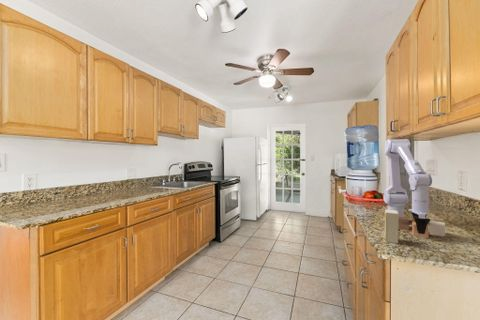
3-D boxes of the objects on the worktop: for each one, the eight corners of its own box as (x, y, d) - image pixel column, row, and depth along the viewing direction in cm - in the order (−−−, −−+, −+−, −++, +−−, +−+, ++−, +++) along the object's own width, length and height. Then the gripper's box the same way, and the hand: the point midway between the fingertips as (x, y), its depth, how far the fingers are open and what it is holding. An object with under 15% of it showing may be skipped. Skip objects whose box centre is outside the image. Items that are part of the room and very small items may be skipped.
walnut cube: (393, 225, 109) (393, 215, 109) (405, 226, 107) (405, 216, 107) (396, 228, 104) (396, 218, 104) (408, 229, 102) (408, 219, 102)
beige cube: (430, 231, 100) (430, 220, 100) (444, 233, 97) (444, 222, 97) (429, 234, 96) (429, 223, 96) (445, 236, 93) (445, 225, 93)
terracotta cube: (412, 232, 99) (412, 221, 99) (426, 234, 96) (426, 223, 96) (413, 235, 95) (413, 224, 95) (428, 238, 92) (428, 226, 92)
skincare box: (384, 237, 93) (384, 209, 93) (397, 239, 91) (397, 210, 91) (385, 242, 88) (385, 212, 87) (398, 244, 85) (398, 213, 85)
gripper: (407, 197, 104) (407, 225, 104) (409, 202, 92) (409, 234, 92) (426, 198, 100) (426, 228, 100) (431, 204, 88) (431, 237, 88)
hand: (420, 231), depth 95 cm, fingers open, 7 cm apart
